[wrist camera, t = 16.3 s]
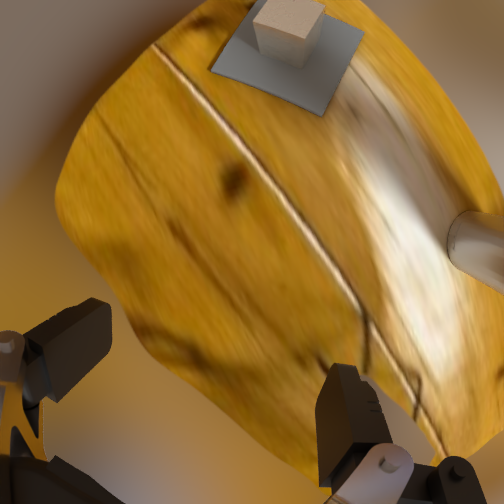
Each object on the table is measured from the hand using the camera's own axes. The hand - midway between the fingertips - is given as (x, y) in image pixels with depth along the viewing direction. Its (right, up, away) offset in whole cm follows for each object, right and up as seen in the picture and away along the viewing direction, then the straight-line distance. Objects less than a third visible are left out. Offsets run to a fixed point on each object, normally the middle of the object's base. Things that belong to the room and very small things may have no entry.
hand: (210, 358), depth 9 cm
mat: (+7, +31, +21) cm, 38 cm away
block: (+6, +31, +21) cm, 38 cm away
